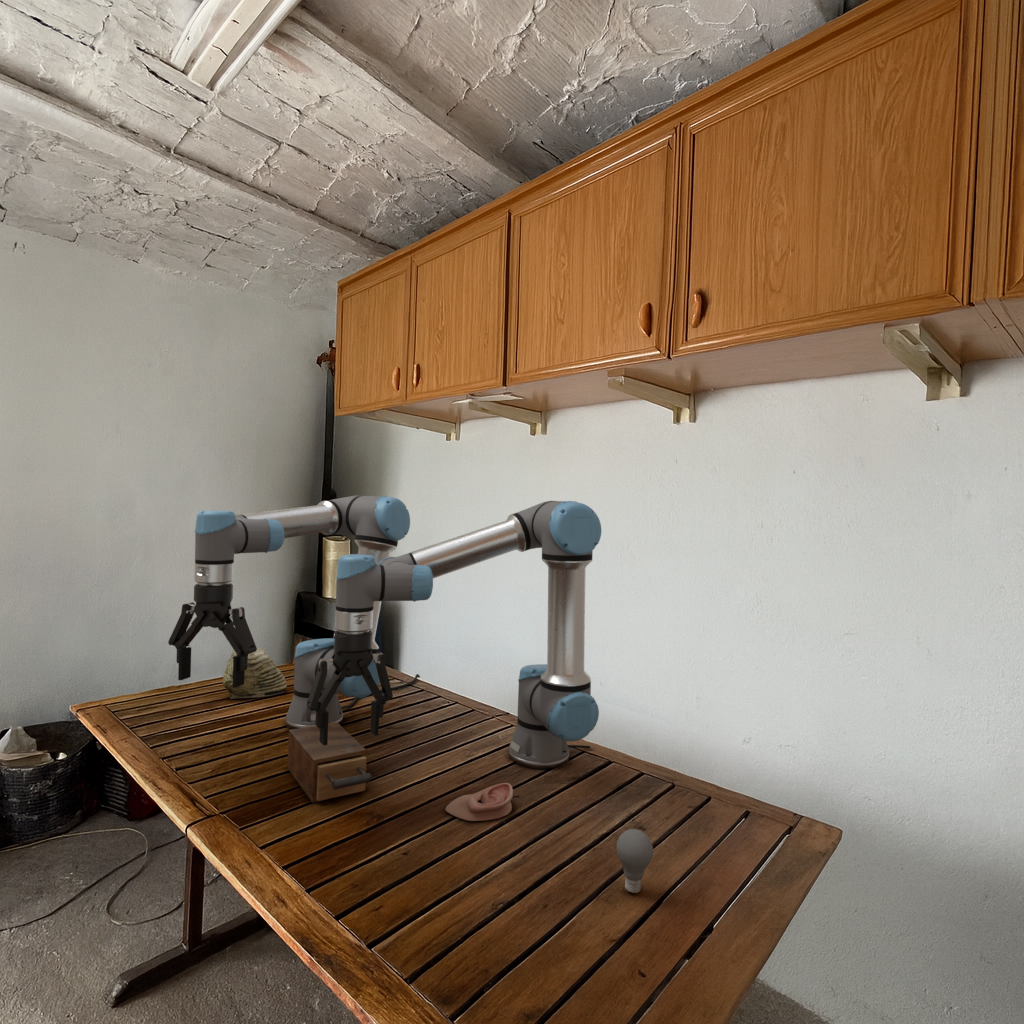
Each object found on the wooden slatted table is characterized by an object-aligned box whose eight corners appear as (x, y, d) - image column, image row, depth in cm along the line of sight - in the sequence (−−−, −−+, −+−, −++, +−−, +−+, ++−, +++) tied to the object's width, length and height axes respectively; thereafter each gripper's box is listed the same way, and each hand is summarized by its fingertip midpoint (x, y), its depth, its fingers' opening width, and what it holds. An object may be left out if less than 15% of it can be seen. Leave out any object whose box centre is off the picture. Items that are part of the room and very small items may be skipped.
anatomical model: (441, 797, 127) (457, 773, 138) (440, 817, 127) (456, 791, 138) (505, 806, 124) (517, 781, 136) (504, 826, 124) (516, 800, 136)
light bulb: (610, 879, 108) (613, 822, 108) (644, 879, 109) (647, 822, 109) (619, 902, 102) (622, 840, 102) (655, 901, 103) (658, 840, 103)
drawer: (376, 802, 131) (377, 768, 130) (327, 814, 125) (328, 778, 125) (337, 759, 150) (338, 730, 150) (293, 768, 145) (295, 738, 144)
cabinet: (364, 790, 137) (366, 749, 137) (312, 802, 131) (313, 760, 131) (335, 758, 153) (336, 722, 153) (287, 768, 147) (288, 729, 147)
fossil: (218, 695, 195) (220, 647, 195) (278, 685, 208) (279, 640, 207) (228, 703, 189) (230, 653, 188) (289, 692, 201) (290, 645, 201)
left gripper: (151, 580, 134) (148, 680, 135) (253, 589, 128) (249, 694, 128) (178, 576, 141) (175, 671, 142) (275, 585, 135) (272, 683, 135)
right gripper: (302, 638, 120) (298, 755, 120) (412, 629, 133) (407, 734, 133) (292, 631, 126) (287, 741, 127) (397, 622, 139) (393, 723, 139)
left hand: (211, 682), depth 135 cm, fingers open, 13 cm apart
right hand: (349, 738), depth 130 cm, fingers open, 10 cm apart
